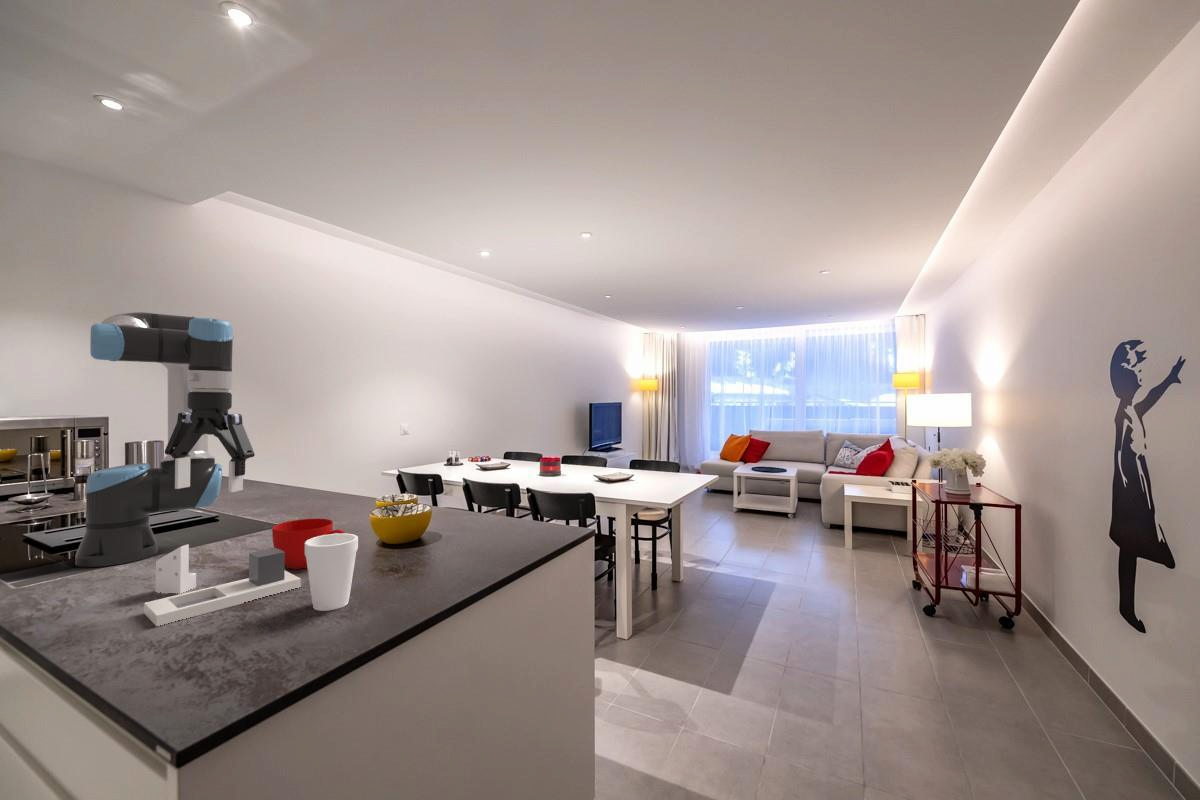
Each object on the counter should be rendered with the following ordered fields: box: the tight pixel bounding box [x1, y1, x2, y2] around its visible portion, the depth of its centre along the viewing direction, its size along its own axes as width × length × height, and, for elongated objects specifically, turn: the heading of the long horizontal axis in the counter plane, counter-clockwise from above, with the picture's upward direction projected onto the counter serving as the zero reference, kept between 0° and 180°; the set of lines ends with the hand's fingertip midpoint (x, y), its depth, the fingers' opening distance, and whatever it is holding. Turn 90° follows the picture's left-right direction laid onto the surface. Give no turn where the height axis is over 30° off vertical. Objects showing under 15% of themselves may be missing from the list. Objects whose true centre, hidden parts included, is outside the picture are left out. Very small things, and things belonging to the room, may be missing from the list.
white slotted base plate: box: [143, 547, 302, 627], centre depth 102 cm, size 9×24×8 cm, turn 143°
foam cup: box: [305, 532, 359, 612], centre depth 101 cm, size 10×9×13 cm
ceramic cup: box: [271, 518, 345, 570], centre depth 124 cm, size 13×17×10 cm
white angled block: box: [155, 543, 197, 595], centre depth 107 cm, size 4×10×9 cm, turn 84°
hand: (208, 489), depth 108 cm, fingers open, 13 cm apart
